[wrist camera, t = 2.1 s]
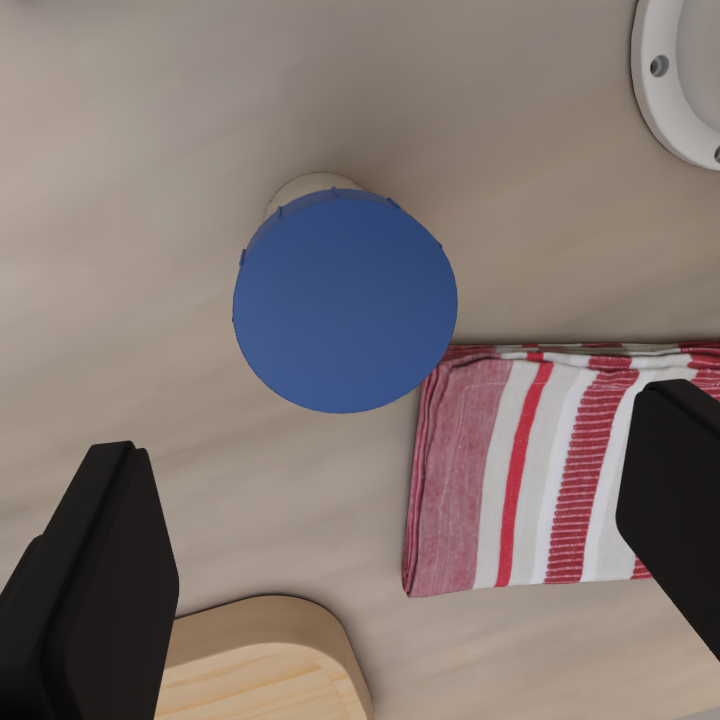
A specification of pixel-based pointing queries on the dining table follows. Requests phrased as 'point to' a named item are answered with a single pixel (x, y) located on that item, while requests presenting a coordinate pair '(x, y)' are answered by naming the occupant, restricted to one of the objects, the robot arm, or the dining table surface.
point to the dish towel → (530, 461)
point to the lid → (343, 301)
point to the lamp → (262, 665)
